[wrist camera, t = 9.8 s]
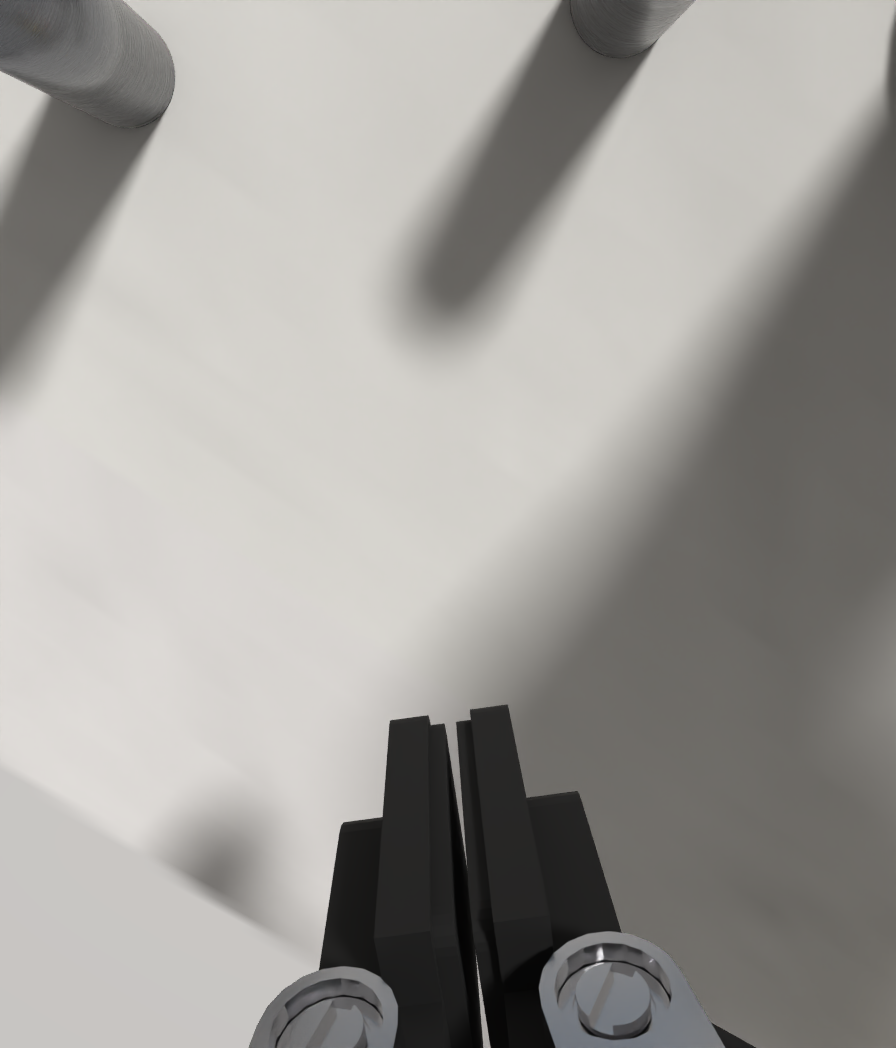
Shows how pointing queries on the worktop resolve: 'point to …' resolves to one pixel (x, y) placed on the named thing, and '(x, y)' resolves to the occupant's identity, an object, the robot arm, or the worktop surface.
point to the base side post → (624, 23)
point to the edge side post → (89, 57)
